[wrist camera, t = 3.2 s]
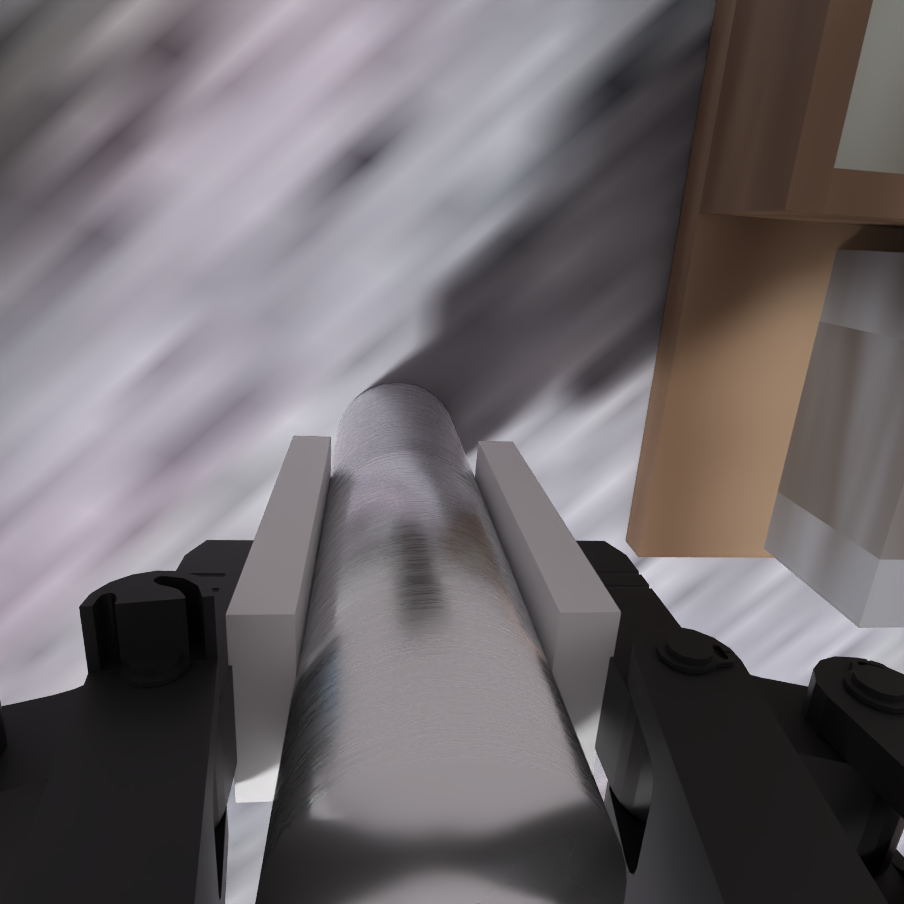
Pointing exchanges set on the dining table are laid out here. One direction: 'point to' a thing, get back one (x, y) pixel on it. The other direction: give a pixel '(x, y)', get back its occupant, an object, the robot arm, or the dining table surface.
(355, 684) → the rod
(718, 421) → the board
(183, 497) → the dining table surface
